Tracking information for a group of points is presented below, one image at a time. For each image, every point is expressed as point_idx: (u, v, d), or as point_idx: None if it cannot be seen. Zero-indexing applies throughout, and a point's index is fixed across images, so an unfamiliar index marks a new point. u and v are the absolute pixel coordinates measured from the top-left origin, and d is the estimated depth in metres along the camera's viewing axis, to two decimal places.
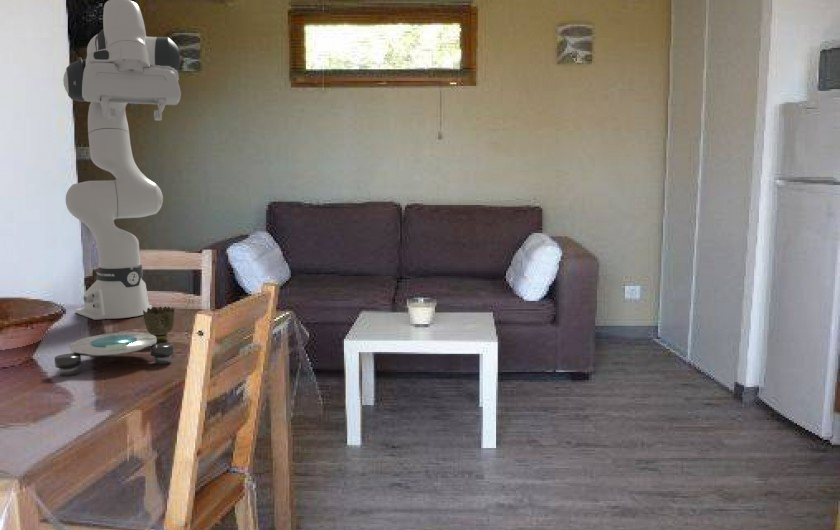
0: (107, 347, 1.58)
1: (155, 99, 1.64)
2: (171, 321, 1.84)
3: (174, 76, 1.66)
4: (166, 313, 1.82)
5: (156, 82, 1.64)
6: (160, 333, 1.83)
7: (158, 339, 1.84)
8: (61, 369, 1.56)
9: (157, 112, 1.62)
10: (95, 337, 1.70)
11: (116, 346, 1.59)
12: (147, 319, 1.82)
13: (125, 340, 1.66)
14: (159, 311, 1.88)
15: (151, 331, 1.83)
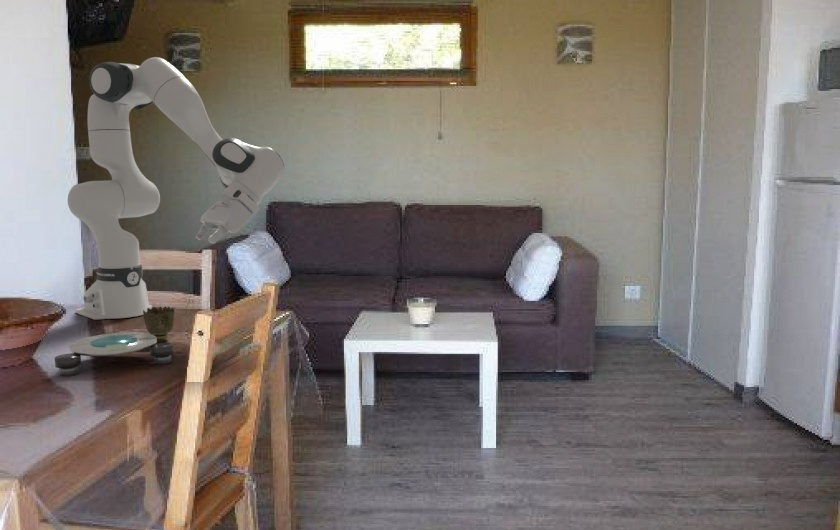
0: (107, 347, 1.58)
1: (210, 224, 1.94)
2: (171, 321, 1.84)
3: None
4: (166, 313, 1.82)
5: None
6: (160, 333, 1.83)
7: (158, 339, 1.84)
8: (61, 369, 1.56)
9: None
10: (95, 337, 1.70)
11: (116, 346, 1.59)
12: (147, 319, 1.82)
13: (125, 340, 1.66)
14: (159, 311, 1.88)
15: (151, 331, 1.83)
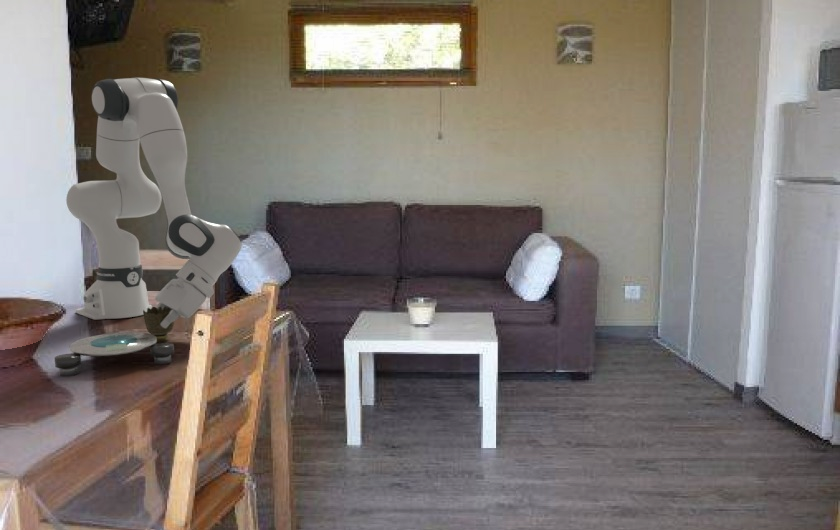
0: (107, 347, 1.58)
1: None
2: None
3: None
4: (166, 313, 1.82)
5: None
6: (160, 333, 1.83)
7: (158, 339, 1.84)
8: (61, 369, 1.56)
9: None
10: (95, 337, 1.70)
11: (116, 346, 1.59)
12: (147, 319, 1.82)
13: (125, 340, 1.66)
14: (159, 311, 1.88)
15: (151, 331, 1.83)
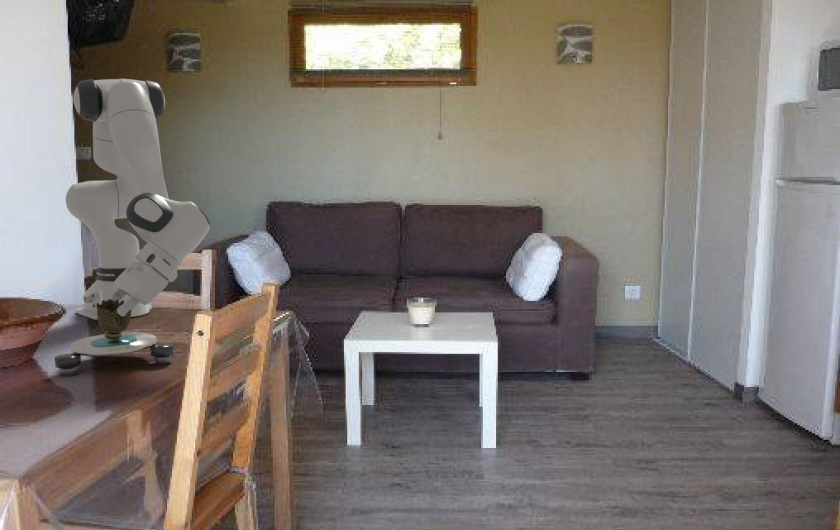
0: (107, 347, 1.58)
1: None
2: (127, 319, 1.65)
3: None
4: None
5: None
6: (113, 331, 1.64)
7: (110, 337, 1.65)
8: (61, 369, 1.56)
9: None
10: (95, 337, 1.70)
11: (116, 346, 1.59)
12: (100, 315, 1.63)
13: (125, 340, 1.66)
14: (115, 304, 1.69)
15: (103, 328, 1.64)
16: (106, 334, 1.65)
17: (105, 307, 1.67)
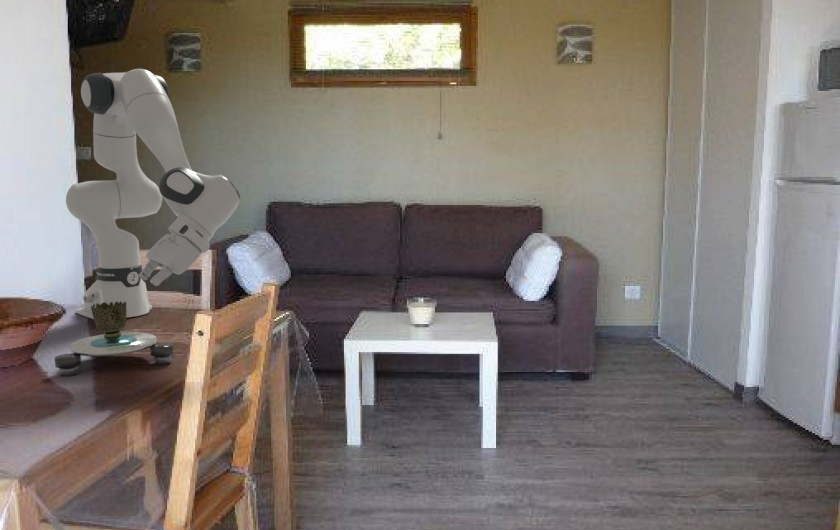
0: (107, 347, 1.58)
1: (156, 261, 1.74)
2: (123, 316, 1.66)
3: None
4: (116, 307, 1.64)
5: None
6: (111, 330, 1.64)
7: (109, 337, 1.65)
8: (61, 369, 1.56)
9: None
10: (95, 337, 1.70)
11: (116, 346, 1.59)
12: (95, 315, 1.63)
13: (125, 340, 1.66)
14: (110, 307, 1.70)
15: (101, 328, 1.64)
16: (105, 335, 1.66)
17: None
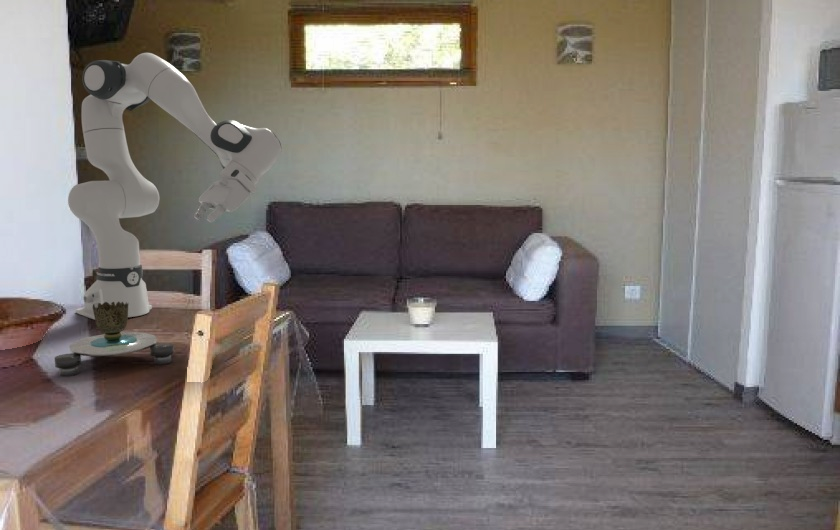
0: (107, 347, 1.58)
1: (208, 204, 1.97)
2: (124, 318, 1.66)
3: None
4: (118, 309, 1.64)
5: None
6: (112, 331, 1.64)
7: (110, 338, 1.65)
8: (61, 369, 1.56)
9: None
10: (95, 337, 1.70)
11: (116, 346, 1.59)
12: (97, 315, 1.63)
13: (125, 340, 1.66)
14: (112, 307, 1.69)
15: (101, 329, 1.64)
16: (105, 335, 1.66)
17: None
